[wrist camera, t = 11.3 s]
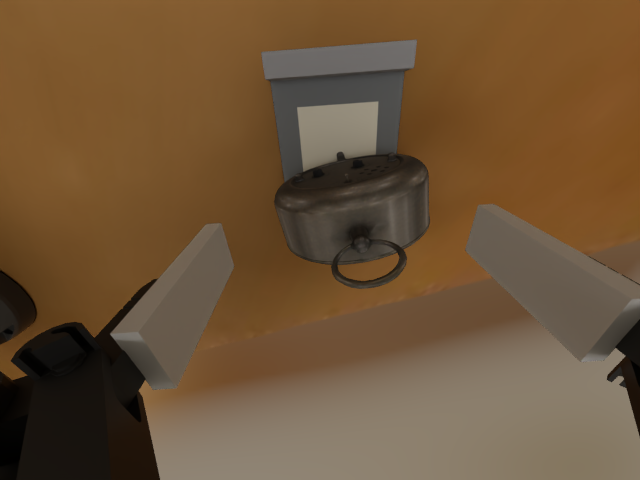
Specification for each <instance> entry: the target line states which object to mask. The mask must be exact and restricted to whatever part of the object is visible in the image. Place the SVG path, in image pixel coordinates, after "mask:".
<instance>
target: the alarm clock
mask: <svg viewBox="0 0 640 480" xmlns="http://www.w3.org/2000/svg"><path fill="white" fill-rule="evenodd" d="M336 156H337V161H336V162H331V163H328V164H324V165H321V166H317V167H314V168H312V169H309V170H306V171H304V172H302V173H297V174H296V175H295V176H294V177H292V178H290V179H289V180H287V181H286V182H285V183H284V184H282V185H281V187H280V188H279V189H278V191H277V193H276V195H275V200H274V203H275V208H276V211H277V214H278V217H279V220H280V223H281V226H282V229H283V232H284V235H285V238H286V241H287V245H288V247H289V249H290V250H291V251H292V252H293V253H294V254H295V255H297V256H298V257H300V258H303V259H305V260H308V261H311V262H316V263H321V264H330V265H332V267H331V268H332V273H333V276H334V277H335V279H336V280H337V281H339V282H341V283H343V284H344V285H346V286H349V287H351V288H358V289H363V288H374V287H378V286H381V285H384V284H386V283H388V282H390V281H392V280H393V279H395V278H396V277H398V275H399V274H400V273H401V272H402V271H403V269H404V267H405V265H406V260H407V257H406V254H405V252H404V250H403V249H405V248H407V247H409V246H411V245H412V244H414V243H415V242H416V241H417V240H419V239H420V238H421V237H422V236H423V235H424V233H425V232H426V231H427V229H428V227H429V223H430V217H429V176H428V170H427V168H426V167H425V165H424V164H423V163H422V162H421V161H420V160H418V159H416V158H414V157H411V156H407V155H401V154H395V153H394V152H391V153H389V154H376V155H367V156H361V157H354V158H349V159H345V156H344V153H343V152H338V153H337V155H336ZM395 253H398V255H399V261H398V264H397V265H396V267H395V268H394V269H393V270H392V271H391V272H389V273H388V274H387V275H385V276H382V277H380V278H377V279H374V280H368V281H357V280H353V279H348V278H346V277H344V276H343V275H342V274H341V273H340V272H339V271H338V267H337V265H347V264H355V263H363V262H368V261H373V260H377V259H380V258H384V257H387V256H390V255H392V254H395Z"/></svg>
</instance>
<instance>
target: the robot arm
mask: <svg viewBox="0 0 640 480" xmlns="http://www.w3.org/2000/svg"><path fill="white" fill-rule="evenodd" d="M465 251H466V252H467V253H468V254H469V255H470V256H471V257H472V258H473V259H474V260H475V261H476V262H477V263H478V264H479V265H480V266H482V267H483V268H484V269H485V270H486V271H487V272H488V273H489V274H490V275H491V276H492V277H493V278H494V279H495V280H496V281H497V282H498V283H499V284H500V285H501V286H502V287H503V288H504V289H505V290H506V291H508V292H509V294H511V295H512V296H513V297H514V298H515V299H516V300H517V301H518V302H519V303H520V304H521V305H522V306H523V307H524V308H525V309H526V310H527V311H528V312H529V313H530V314H531V315H532V316H533V317H534V318H535V319H536V320H538V322H540V323H541V324H542V325H543V326H544V327H545V328H546V329H547V330H548V331H549V332H550V333H551V334H552V335H553V336H554V337H555V338H556V339H557V340H558V341H559V342H560V343H561V344H562V345H563V346H564V347H565V348H566V349H567V350H569V351H570V352H571V353H572V354H573V355H574V356H575V357H576V358H577V359H578V360H579V361H580V362H587V361H602V360H605V359H606V358H607V357H608V356H609V355H610V353H611V352H612V351H613V350H614V349H615V348H617V349H618V350H619V351H620V352H622V353H623V354H624V355H626V356H625V358H624V359H623V360H622V361H621V362H620V363H619V364H618V365H617V366H616V367H615V368H614V369H613V370H612V371H611V372H610V373H609V374H608V376H607V380H608V381H611V382H612V381H614V379H616V377H617V376H623V377H624V380H623V381H622V382H621V383H620V384H619V385H620V386H623V387H625V388H627V391H628V395H629V399H630V403H631V406H632V410H633V413H634V418H635V421H636V424H637V428H638V432H639V436H640V284H638V283H636V282H635V281H633V280H631V279H629V278H627V277H626V276H624V275H620V274H619V273H618V272H616V271H615V270H613V269H611V268H609V267H606V266H605V265H604V264H602V263H600V262H598V261H597V260H595V259H593V258H591V257H589V256H587V255H584V254H583V253H581V252H579V251H577V250H575V249H574V248H572V247H570V246H568V245H567V244H565V243H563V242H561V241H559V240H558V239H556V238H554V237H552V236H550V235H549V234H547V233H545V232H543V231H541V230H540V229H538V228H536V227H534V226H532V225H531V224H529V223H527V222H525V221H523V220H522V219H520V218H518V217H516V216H514V215H513V214H511V213H509V212H507V211H505V210H504V209H502V208H500V207H498V206H496V205H495V204H485V205H478V208H477V212H476V215H475V218H474V222H473V225H472V229H471V232H470V236H469V239H468V242H467V246H466V249H465ZM233 268H234V264H233V260H232V257H231V254H230V251H229V247H228V244H227V241H226V237H225V234H224V231H223V228H222V224H221V223H214V224H206V225H205V226H204V227H203V228H202V229H201V231H200V232H199V233H198V234H197V235H196V236H195V237H194V239H193V240H192V241H191V242H190V243H189V244H188V245H187V247H186V248H185V249H184V250H183V251H182V252H181V253H180V255H179V256H178V257H177V258H176V259H175V260H174V261H173V263H172V264H171V265H170V266H169V267H168V268H167V269H166V271H165V272H164V273H163V274H162V275H161V276H160V277H159V279H153V280H152V281H151V282H149V283H148V284H146V285H145V286H143V287H142V288H140V290H139V291H138V292H137V293H136V294H135V295H134V296H133V297H132V298H131V301H128V302H127V304H126V305H125V306H124V307H123V309H121V310H120V311H119V312H118V313H117V314H116V315H115V317H114V318H113V319H112V320H111V321H110V322H109V323H108V324H107V325H106V326H105V327H104V328H103V329H102V331H101V332H100V333H99V334H98V335H97V336H96V337H95V338H94V337H93V336H92V335H91V334H90V333H89V331H88V330H87V329H86V328H85V327H84V325H83V324H82V323H77V322H72V323H65V324H62V325H59V326H56V327H53V328H51V329H49V330H47V331H45V332H43V333H41V334H39V335H37V336H36V337H34V338H33V339H31V340H30V341H29V342H27V343H26V344H25V345H23V346H22V347H21V348H20V349H19V350H18V351H17V352H16V353H15V355H14V357H13V358H12V360H11V362H12V363H14V364H15V365H16V366H17V367H18V368H20V369H21V370H22V371H23V372H24V373H26V374H27V375H28V376H25V377H22V378H18V379H15V380H11V379H10V378H9V377H7V376H6V375H5V374H3V373H2V372H1V371H0V480H160V478H159V473H158V468H157V463H156V458H155V454H154V449H153V444H152V440H151V435H150V430H149V425H148V421H147V416H146V412H145V407H144V403H143V397H142V396H141V394H140V392H139V389H140V387H141V386H142V384H143V382H144V381H145V380H146V381H147V382H148V384H149V385H150V386H151V388H152V389H153V390H157V389H172V388H177V386H178V384H179V382H180V380H181V377H182V375H183V373H184V371H185V369H186V367H187V365H188V363H189V361H190V358H191V357H192V354H193V352H194V350H195V348H196V346H197V344H198V342H199V340H200V338H201V336H202V333H203V331H204V329H205V327H206V325H207V323H208V321H209V319H210V317H211V315H212V312H213V310H214V308H215V306H216V304H217V302H218V300H219V298H220V296H221V294H222V291H223V289H224V287H225V285H226V283H227V281H228V279H229V277H230V275H231V273H232V270H233ZM35 315H36V313H35V308H34V305H33V303H32V301H31V300H30V298H29V297H28V296H27V294H26V293H25V292H24V291H23V290H22V289H21V288H20V287H19V286H18V285H17V284H16V283H15V282H13V281H12V280H11V279H10V278H8V277H7V276H5V275H4V274H2V273H1V272H0V344H3V343H5V342H7V341H9V340H11V339H12V338H14V337H16V336H17V335H18V334H20V333H21V332H22V331H24V330H25V329H26V328H27V327H29V326H30V325H31V324H32V323H33V322H34V320H35Z"/></svg>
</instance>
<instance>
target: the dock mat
mask: <svg viewBox="0 0 640 480" xmlns="http://www.w3.org/2000/svg"><path fill="white" fill-rule="evenodd" d="M416 44H417V40H407V41H394V42H382V43H369V44H357V45H344V46H332V47H319V48H306V49H294V50H281V51H269V52H261V54H262V61H263V67H264V74H265V79H266V80H268V81H270V82H271V89H272V96H273V103H274V110H275V118H276V125H277V132H278V139H279V146H280V153H281V160H282V167H283V174H284V181H285V182H286V181H287V180H289V179H290V178H292V177H294V176H295V175H296V174H297V173H302V172H304V171H306V170H309V169H312V168H314V167H317V166H321V165H324V164H328V163H331V162H336V161H337V156H336V155H337V153H338V152H343V153H344V156H345V159H349V158H354V157H361V156H367V155H376V154H389V153H391V152H394V153H395V154H397V143H398V133H399V122H400V112H401V101H402V91H403V80H404V71H406V70H409V69H412V68H414V62H415V53H416Z"/></svg>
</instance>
